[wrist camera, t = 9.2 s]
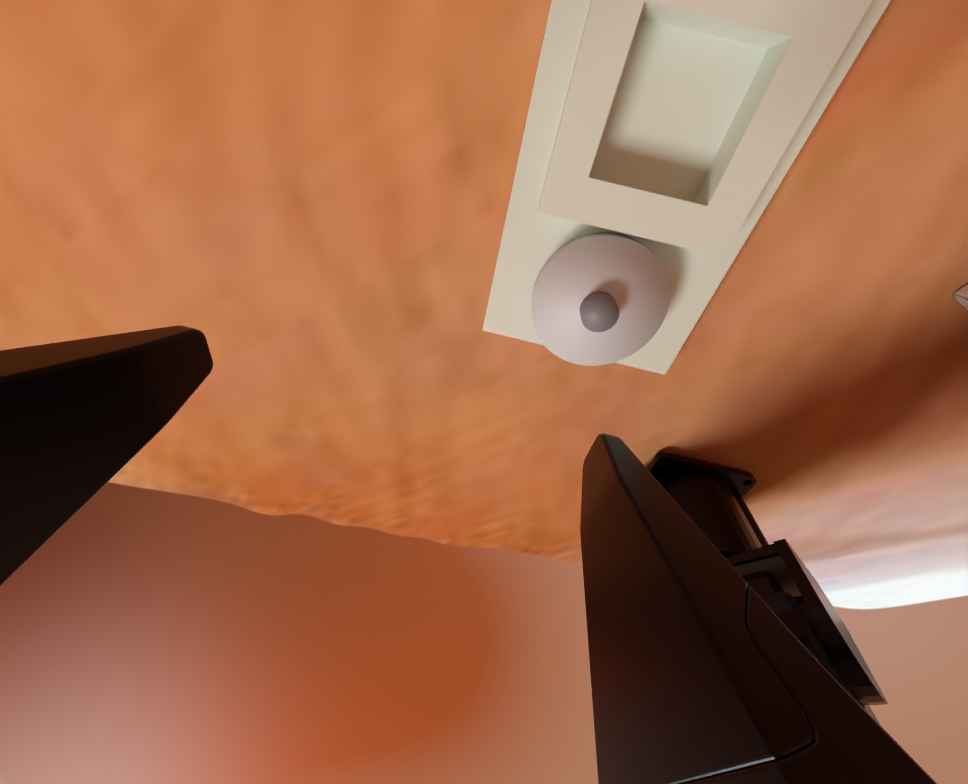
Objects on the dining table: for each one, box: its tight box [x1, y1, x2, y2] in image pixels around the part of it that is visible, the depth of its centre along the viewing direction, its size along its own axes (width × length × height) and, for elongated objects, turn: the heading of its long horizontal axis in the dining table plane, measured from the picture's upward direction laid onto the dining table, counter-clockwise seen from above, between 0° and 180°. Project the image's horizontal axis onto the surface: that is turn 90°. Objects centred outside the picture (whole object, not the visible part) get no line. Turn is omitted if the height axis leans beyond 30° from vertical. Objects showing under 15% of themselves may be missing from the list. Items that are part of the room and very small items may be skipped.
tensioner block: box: [483, 0, 891, 375], centre depth 14 cm, size 10×14×3 cm
